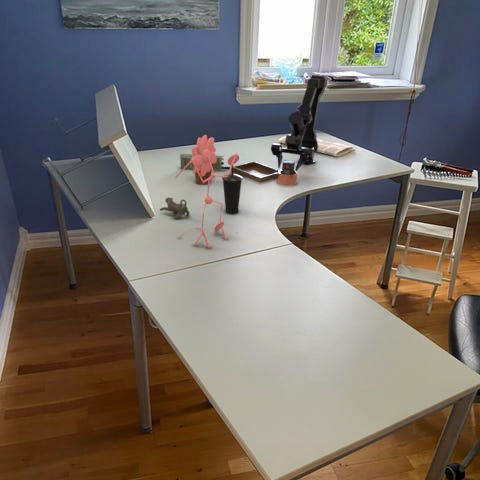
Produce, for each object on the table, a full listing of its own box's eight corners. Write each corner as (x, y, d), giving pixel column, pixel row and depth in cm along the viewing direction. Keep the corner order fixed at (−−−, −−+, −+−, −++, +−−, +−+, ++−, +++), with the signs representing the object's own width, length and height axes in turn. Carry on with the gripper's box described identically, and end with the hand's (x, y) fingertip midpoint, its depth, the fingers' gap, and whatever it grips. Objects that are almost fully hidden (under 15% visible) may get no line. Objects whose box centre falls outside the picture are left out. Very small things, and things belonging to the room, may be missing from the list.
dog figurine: (192, 217, 187) (191, 198, 182) (182, 221, 183) (181, 202, 179) (169, 209, 192) (168, 190, 188) (159, 213, 189) (157, 194, 184)
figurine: (242, 232, 177) (246, 131, 157) (194, 257, 160) (191, 149, 140) (210, 220, 184) (209, 123, 164) (161, 243, 168) (153, 138, 147)
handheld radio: (181, 166, 234) (233, 169, 232) (180, 169, 232) (232, 172, 230) (181, 153, 230) (233, 155, 228) (179, 155, 227) (233, 158, 226)
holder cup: (286, 178, 224) (287, 168, 221) (299, 183, 219) (301, 172, 216) (274, 182, 219) (274, 171, 217) (287, 187, 215) (288, 176, 212)
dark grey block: (282, 180, 221) (284, 160, 215) (293, 182, 219) (294, 162, 214) (280, 182, 218) (282, 162, 213) (291, 184, 217) (292, 163, 212)
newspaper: (277, 143, 270) (278, 138, 269) (297, 136, 283) (298, 131, 281) (335, 157, 252) (336, 152, 250) (354, 149, 264) (354, 144, 262)
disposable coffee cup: (197, 187, 213) (196, 159, 206) (189, 180, 220) (188, 153, 213) (217, 183, 216) (217, 156, 209) (208, 177, 223) (208, 150, 216)
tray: (253, 166, 237) (253, 161, 236) (282, 177, 226) (282, 171, 224) (231, 172, 229) (231, 166, 228) (260, 183, 218) (260, 178, 216)
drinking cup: (221, 208, 194) (221, 157, 183) (240, 207, 195) (241, 157, 183) (222, 215, 188) (222, 164, 177) (242, 215, 189) (243, 163, 177)
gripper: (273, 124, 211) (263, 157, 209) (315, 129, 206) (305, 163, 204) (277, 138, 222) (268, 169, 220) (317, 143, 217) (308, 176, 215)
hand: (287, 169), depth 214 cm, fingers open, 8 cm apart
